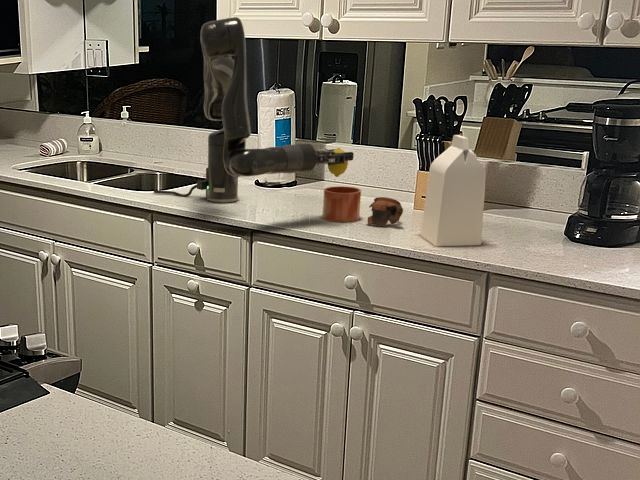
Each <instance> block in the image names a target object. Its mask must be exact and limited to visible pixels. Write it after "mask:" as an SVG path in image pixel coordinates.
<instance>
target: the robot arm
mask: <svg viewBox="0 0 640 480" xmlns="http://www.w3.org/2000/svg"><path fill="white" fill-rule="evenodd" d="M199 36H200V46H201V53H202V58H203V59H202V61H203V65H202V66H203V67H202V69H203V70H202V75H203V76H202V77H203V85H204V93H203V94H204V95H203V111H204V112H203V113H204V115H205V117H206V118H207V119H208V120H210V121H222V128H221V129H218V130H216V131H213V132H210V133H209V134H208V137H207V138H208V139H207V167H206V169H205V179H201V180H197V181H196V184H195V185H193V186H192V187H191V188H190V189H189V191H188V192H187V193H185V194H184V193H183V194H182V193H179V192H176V191H172V190H171V191H170V190H159V189H158V190H156V189H154V190H153V194H166V195H174V196H177V197H181V198H187V197H189V196H191V195H192V193H193V191H194V190H195V189H197V190H200V191H205V199H206V200H207V201H209V202H212V203H219V204H220V203H222V204H223V203H225V204H226V203H233V202H237V201H238V200H239V195H238V194H239V193H238V191H239V189H238V188H239V178H247V177H249V178H250V177H256V176H262V175H275V174H276V175H277V174H298V173H299V174H300V173H308V172H311V171H313V170H314V168H315V167H316V165H317V166H324V165H327V166H328V165H335V164H343V163H345V161H348V162H351V161H353V160H354V152H353V151H347V152H346V151H344V153H342V152H340V153H335V152H334V150H336V149H337V148H333V149H328V148H321V147H319V148H315V147H314V146H313V145H312V144H310V143H295V144H286V145H282V146H281V145H280V146H269V147H265V148H247V147H246V146H247V144H246V143H247V139H248V138H250V137H251V135H252V126H251V117H250V111H249V103H248V72H247V71H248V69H247V48H246V47H247V46H246V45H247V44H246V35H245V29H244V25H243V22H242V20H241V19H240V18H239V17H237V16H234V17H228V18H221V19H216V20H209V21H207V22H205V23H203V25H202V26H201V29H200V34H199ZM330 153H331V155H330Z"/></svg>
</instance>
